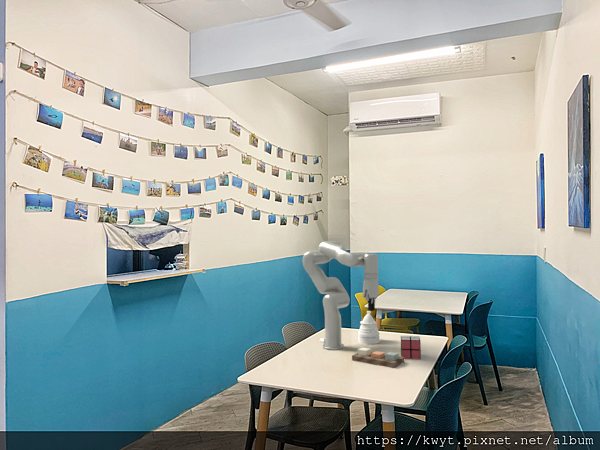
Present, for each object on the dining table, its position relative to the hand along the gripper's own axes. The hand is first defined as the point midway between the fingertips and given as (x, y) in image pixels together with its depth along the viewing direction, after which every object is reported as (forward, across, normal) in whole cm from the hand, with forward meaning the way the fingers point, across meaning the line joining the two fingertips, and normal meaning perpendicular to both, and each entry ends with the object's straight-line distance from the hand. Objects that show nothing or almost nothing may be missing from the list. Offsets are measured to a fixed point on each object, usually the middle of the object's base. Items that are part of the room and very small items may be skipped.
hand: (371, 310), depth 247 cm
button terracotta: (+23, +7, +7) cm, 25 cm away
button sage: (+22, +7, +15) cm, 28 cm away
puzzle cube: (+25, -11, +17) cm, 32 cm away
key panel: (+25, +7, +7) cm, 27 cm away
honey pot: (+25, -28, -18) cm, 42 cm away
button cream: (+22, +7, -1) cm, 24 cm away
